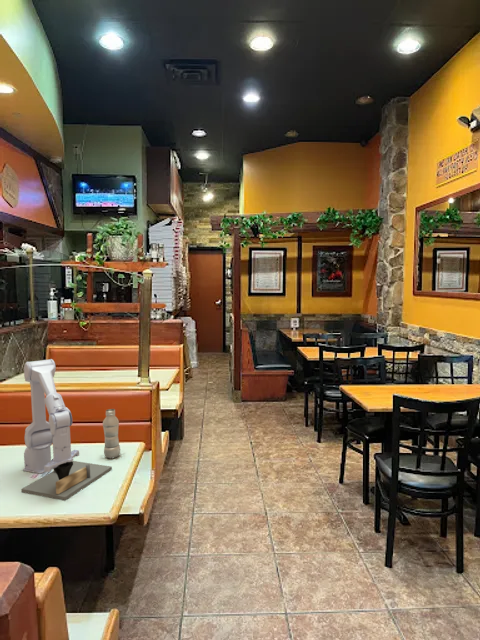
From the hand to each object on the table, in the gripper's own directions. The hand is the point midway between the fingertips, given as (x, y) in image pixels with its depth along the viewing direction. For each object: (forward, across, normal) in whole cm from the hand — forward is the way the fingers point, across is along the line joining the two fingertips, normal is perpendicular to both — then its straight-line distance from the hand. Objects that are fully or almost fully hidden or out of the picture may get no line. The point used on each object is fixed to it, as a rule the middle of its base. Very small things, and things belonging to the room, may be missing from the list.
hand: (63, 483), depth 146 cm
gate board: (+3, +7, +4) cm, 8 cm away
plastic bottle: (+3, +30, +2) cm, 30 cm away
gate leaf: (+1, +1, -2) cm, 3 cm away
